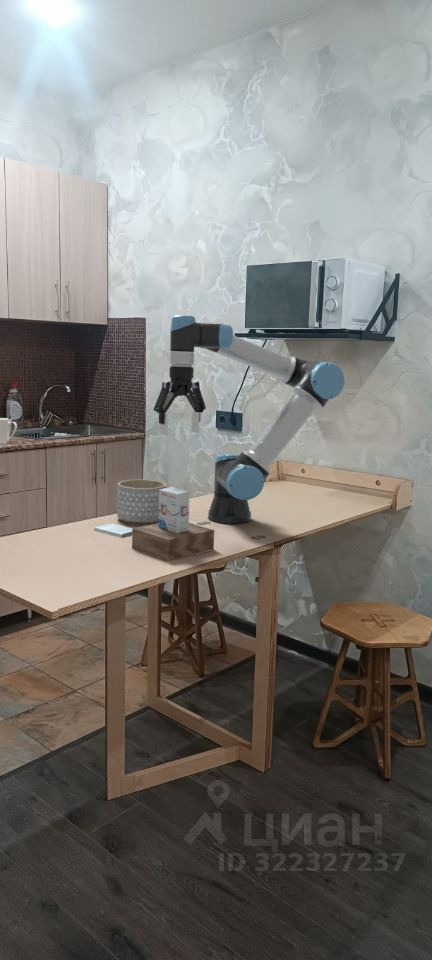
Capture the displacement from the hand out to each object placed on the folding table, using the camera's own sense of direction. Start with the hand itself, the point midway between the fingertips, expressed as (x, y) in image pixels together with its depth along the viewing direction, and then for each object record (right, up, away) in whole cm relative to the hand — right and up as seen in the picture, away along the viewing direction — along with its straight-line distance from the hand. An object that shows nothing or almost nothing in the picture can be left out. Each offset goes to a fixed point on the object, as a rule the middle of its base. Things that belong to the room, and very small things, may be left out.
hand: (179, 433), depth 224 cm
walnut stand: (-1, -35, -16) cm, 39 cm away
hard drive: (-20, -32, +1) cm, 38 cm away
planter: (-14, -29, +17) cm, 36 cm away
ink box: (-1, -30, -18) cm, 35 cm away
